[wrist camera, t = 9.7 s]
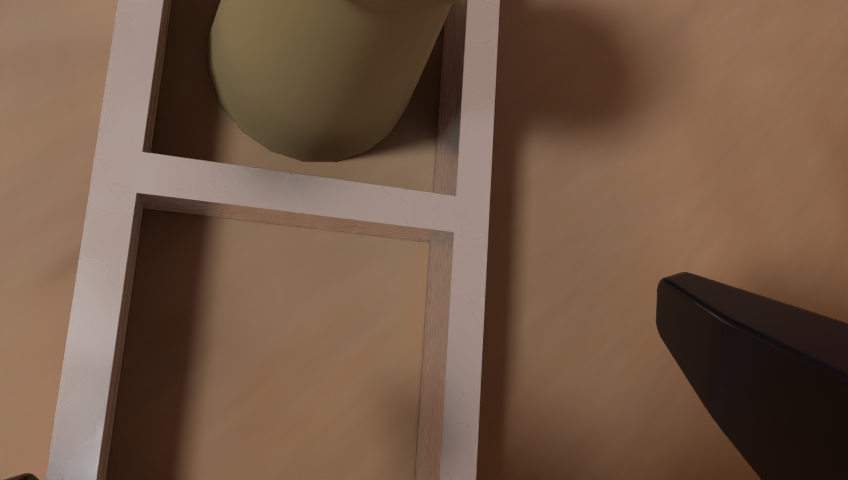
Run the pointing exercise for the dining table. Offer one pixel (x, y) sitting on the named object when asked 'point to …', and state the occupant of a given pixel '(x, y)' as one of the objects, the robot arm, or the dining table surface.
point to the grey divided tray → (295, 206)
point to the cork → (320, 69)
